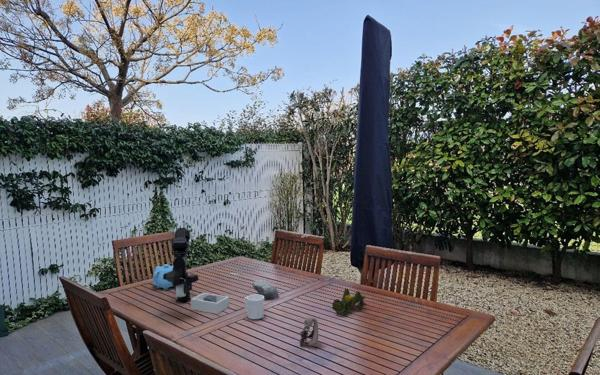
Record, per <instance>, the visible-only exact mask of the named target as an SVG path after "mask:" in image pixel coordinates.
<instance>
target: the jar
mask: <svg viewBox="0 0 600 375" xmlns="http://www.w3.org/2000/svg"><path fill="white" fill-rule="evenodd" d="M175 296H176V298H177V297H184V296H186V294H184V285H183V284H181V285H177V286H176V292H175Z"/></svg>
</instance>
